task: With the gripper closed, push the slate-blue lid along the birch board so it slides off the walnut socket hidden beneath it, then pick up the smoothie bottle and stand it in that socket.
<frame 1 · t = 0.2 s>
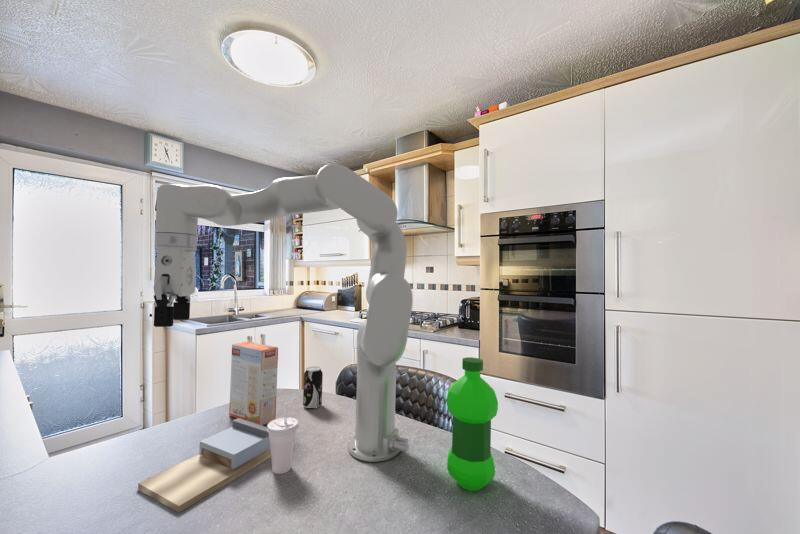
hand: (172, 322, 71), 31 cm above the table, tool pointing down, fingers open, 9 cm apart
board: (216, 468, 71), on the table
smoothie: (281, 469, 71), on the table
beverage can: (312, 407, 105), on the table
lid: (236, 441, 75), point 4 cm above the table, slide at 0.0 cm
plastic bottle: (470, 483, 68), on the table
cracker box: (252, 419, 95), on the table
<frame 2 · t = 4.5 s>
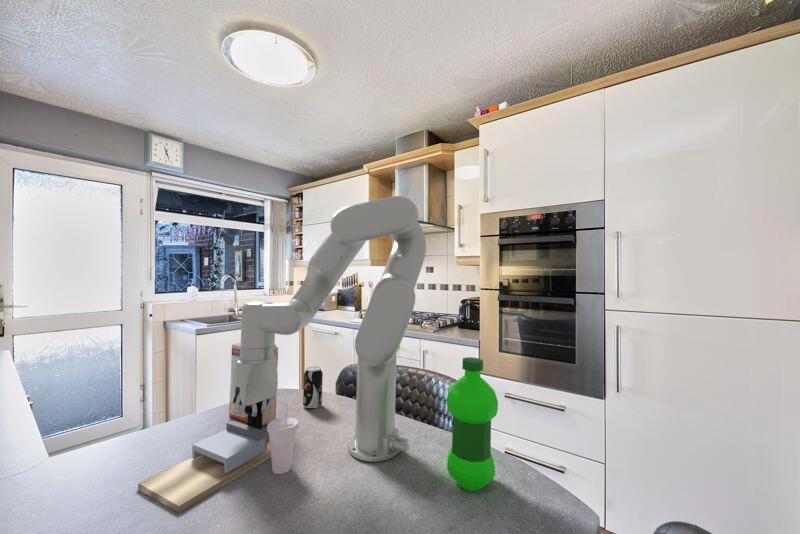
hand: (254, 430, 79), 4 cm above the table, tool pointing down, fingers closed
lid: (229, 444, 73), point 4 cm above the table, slide at 1.6 cm, touching gripper
everything else where it was.
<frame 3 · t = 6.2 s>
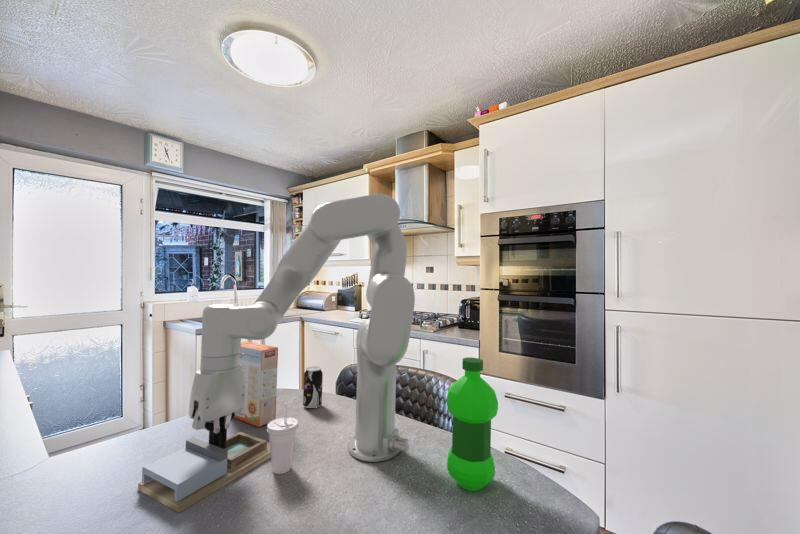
hand: (217, 448, 71), 4 cm above the table, tool pointing down, fingers closed
lid: (186, 466, 65), point 4 cm above the table, slide at 11.1 cm, touching gripper
everything else where it was.
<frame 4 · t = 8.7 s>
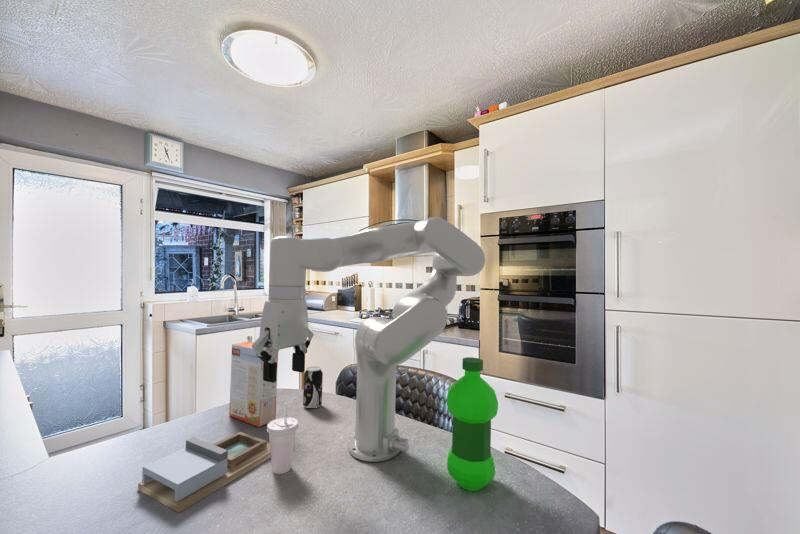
hand: (284, 375, 72), 20 cm above the table, tool pointing down, fingers open, 7 cm apart
lid: (186, 466, 65), point 4 cm above the table, slide at 11.0 cm
everything else where it was.
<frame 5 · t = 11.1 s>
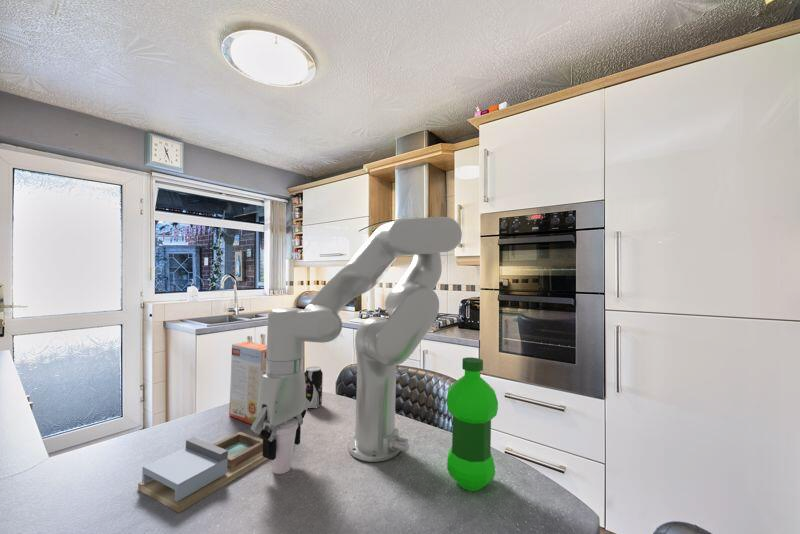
hand: (281, 449, 71), 4 cm above the table, tool pointing down, fingers closed on smoothie, 6 cm apart
smoothie: (281, 469, 71), on the table, touching gripper
everything else where it was.
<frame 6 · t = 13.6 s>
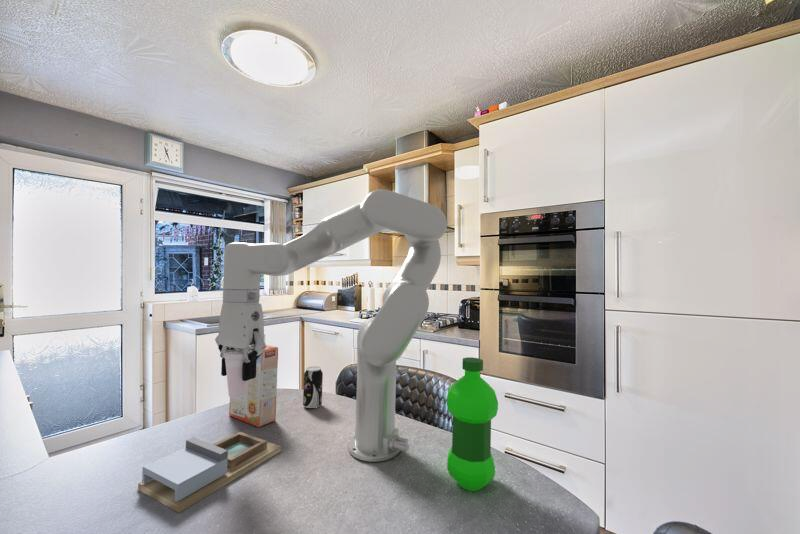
hand: (238, 376, 75), 18 cm above the table, tool pointing down, fingers closed on smoothie, 6 cm apart
smoothie: (237, 395, 75), point 14 cm above the table, touching gripper
everything else where it was.
when the fingers open (6 cm above the table, at t = 16.1 s): smoothie stays where it is, resting on board.
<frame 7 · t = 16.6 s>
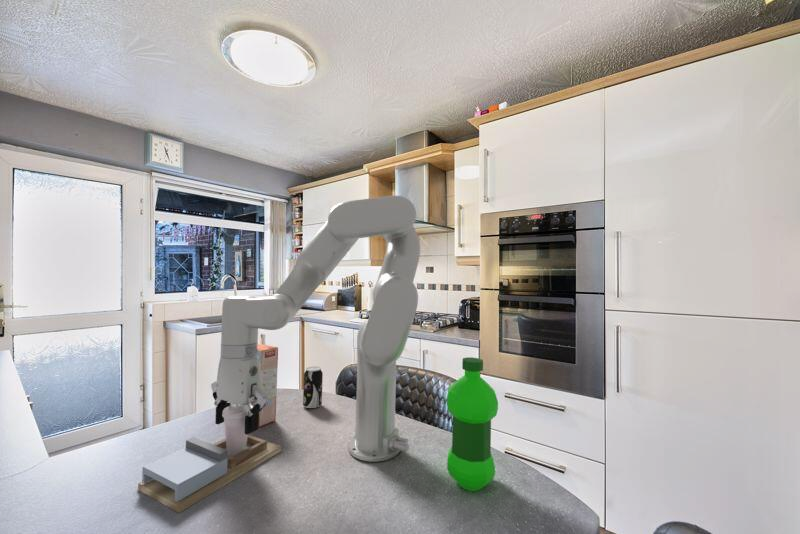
hand: (236, 426, 75), 7 cm above the table, tool pointing down, fingers open, 9 cm apart
smoothie: (236, 452, 75), point 1 cm above the table, touching board
everything else where it was.
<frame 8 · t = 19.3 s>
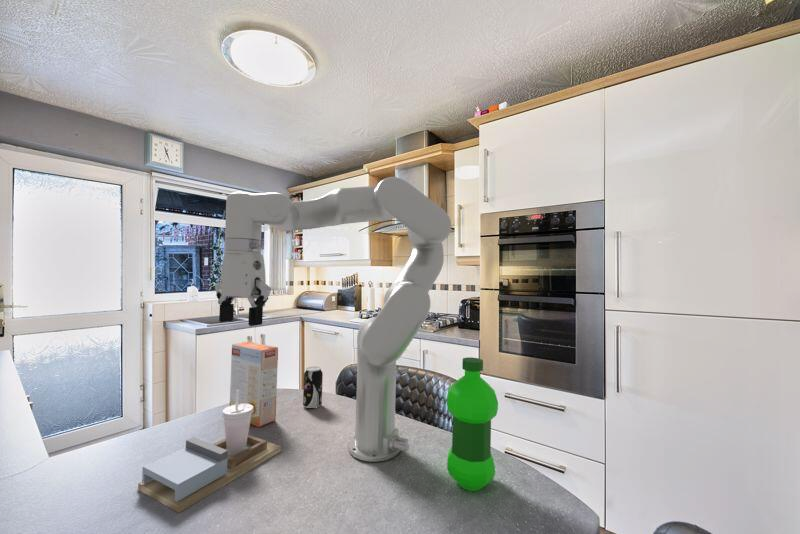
hand: (240, 323, 75), 30 cm above the table, tool pointing down, fingers open, 9 cm apart
nothing on the table moved.
at the end: lid slide at 11.0 cm; smoothie 0.2 cm from the target spot, point 1.1 cm above the table; smoothie tilted 0° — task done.
